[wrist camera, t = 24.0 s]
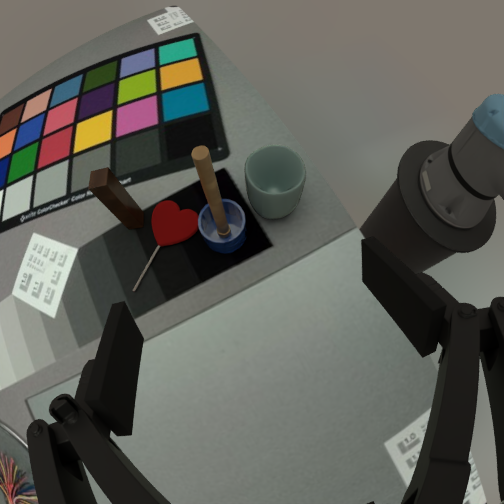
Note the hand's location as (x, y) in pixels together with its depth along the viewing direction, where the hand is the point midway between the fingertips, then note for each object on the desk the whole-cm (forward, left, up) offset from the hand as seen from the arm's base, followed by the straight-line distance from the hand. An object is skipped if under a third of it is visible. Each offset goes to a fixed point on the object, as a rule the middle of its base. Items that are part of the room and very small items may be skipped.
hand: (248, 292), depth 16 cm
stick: (+3, -14, -27) cm, 31 cm away
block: (+17, -18, -28) cm, 37 cm away
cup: (-5, -18, -28) cm, 34 cm away
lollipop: (+13, -13, -28) cm, 33 cm away
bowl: (+3, -14, -28) cm, 31 cm away
